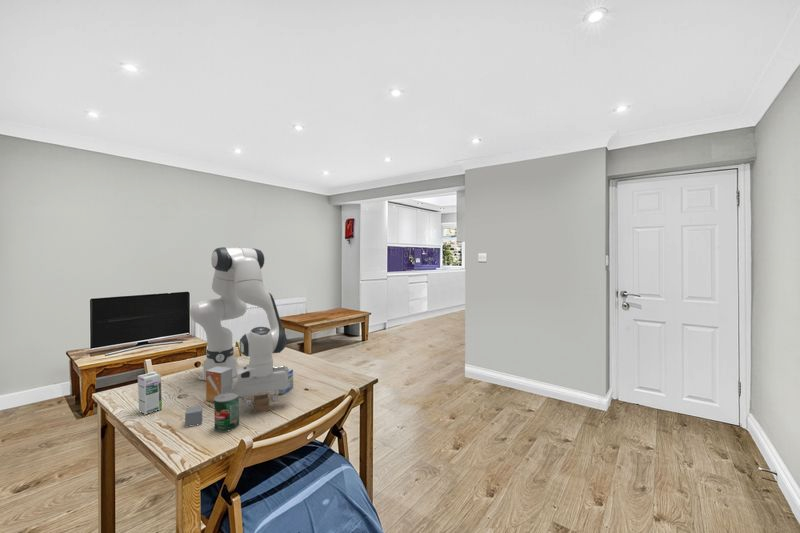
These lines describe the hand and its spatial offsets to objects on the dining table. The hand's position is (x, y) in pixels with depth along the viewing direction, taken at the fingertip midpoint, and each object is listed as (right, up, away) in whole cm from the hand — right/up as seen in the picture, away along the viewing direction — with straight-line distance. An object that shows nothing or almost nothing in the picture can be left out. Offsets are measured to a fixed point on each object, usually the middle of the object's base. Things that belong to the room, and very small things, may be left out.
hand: (261, 403), depth 137 cm
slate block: (-20, -3, -11) cm, 23 cm away
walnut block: (0, -3, 0) cm, 3 cm away
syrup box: (-43, -2, -2) cm, 43 cm away
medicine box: (+3, -2, +18) cm, 19 cm away
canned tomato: (-7, -3, -13) cm, 16 cm away
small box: (-21, -2, +9) cm, 23 cm away
